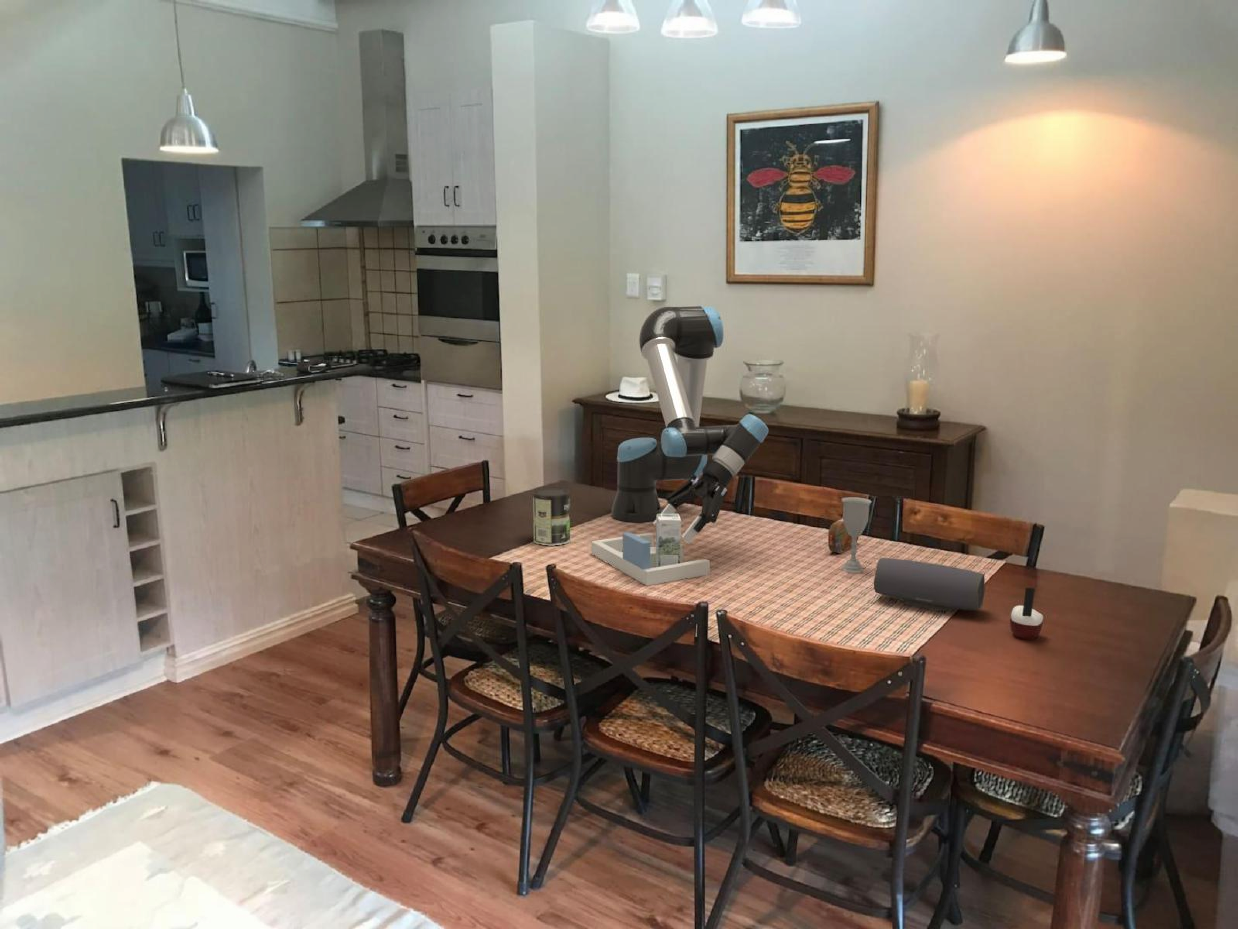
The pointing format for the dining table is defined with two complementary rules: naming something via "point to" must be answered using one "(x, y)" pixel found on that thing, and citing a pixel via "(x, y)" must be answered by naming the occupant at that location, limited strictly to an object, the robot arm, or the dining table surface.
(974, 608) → the bluetooth speaker
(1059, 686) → the dining table surface
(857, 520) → the chalice
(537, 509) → the coffee can
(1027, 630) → the cocoa
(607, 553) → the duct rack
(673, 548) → the syrup box
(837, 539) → the brown stone slab
